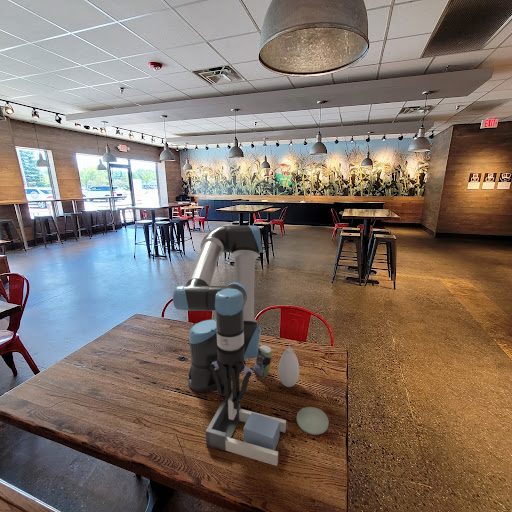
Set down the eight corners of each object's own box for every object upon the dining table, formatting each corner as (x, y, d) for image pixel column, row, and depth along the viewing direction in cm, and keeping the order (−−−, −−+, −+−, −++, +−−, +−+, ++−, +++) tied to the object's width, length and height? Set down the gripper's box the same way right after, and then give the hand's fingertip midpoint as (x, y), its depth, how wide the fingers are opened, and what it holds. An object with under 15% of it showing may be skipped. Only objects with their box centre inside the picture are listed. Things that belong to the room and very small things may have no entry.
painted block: (243, 444, 78) (243, 428, 77) (251, 428, 84) (251, 412, 82) (272, 455, 75) (273, 438, 73) (279, 438, 80) (279, 421, 79)
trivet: (294, 430, 83) (294, 428, 82) (299, 406, 92) (299, 404, 92) (327, 438, 80) (327, 436, 79) (329, 412, 89) (329, 410, 89)
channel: (225, 450, 76) (225, 440, 75) (240, 417, 87) (240, 408, 86) (276, 466, 72) (277, 455, 71) (285, 429, 83) (286, 420, 82)
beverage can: (253, 369, 111) (252, 343, 108) (270, 368, 111) (271, 342, 108) (254, 380, 105) (254, 353, 102) (273, 379, 105) (273, 352, 102)
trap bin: (206, 445, 78) (205, 431, 77) (223, 412, 89) (223, 400, 88) (225, 450, 76) (224, 436, 75) (240, 417, 87) (240, 404, 86)
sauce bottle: (301, 381, 104) (302, 339, 99) (295, 395, 97) (296, 350, 93) (282, 375, 107) (282, 335, 103) (275, 388, 100) (275, 345, 96)
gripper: (203, 347, 73) (207, 420, 78) (248, 356, 69) (249, 432, 74) (215, 334, 80) (218, 402, 85) (256, 341, 76) (257, 411, 81)
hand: (232, 415), depth 80 cm, fingers closed
